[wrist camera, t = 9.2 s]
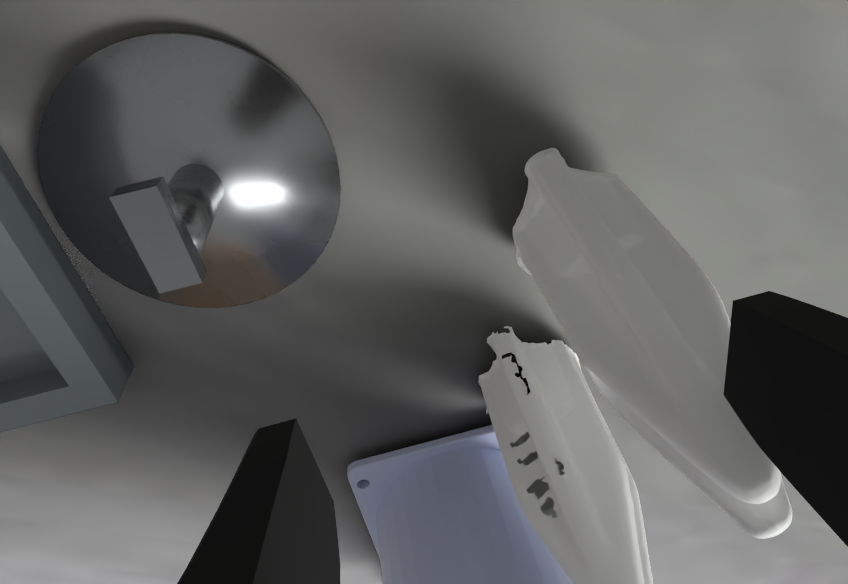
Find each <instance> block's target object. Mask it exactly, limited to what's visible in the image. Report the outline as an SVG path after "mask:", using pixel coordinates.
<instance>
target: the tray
mask: <svg viewBox="0 0 848 584" xmlns="http://www.w3.org/2000/svg"><path fill="white" fill-rule="evenodd" d="M133 367H134V366H133V364H132V363H131V361H130V359H129V358H128V356H127V355H126V353H125V351H124V350H123V348H122V346H121V345H120V343H119V341H118V340H117V338H116V336H115V335H114V333H113V331H112V330H111V328H110V326H109V325H108V323H107V321H106V320H105V318H104V316H103V315H102V313H101V311H100V310H99V308H98V306H97V305H96V303H95V301H94V300H93V298H92V297H91V295H90V293H89V292H88V290H87V288H86V287H85V285H84V283H83V282H82V280H81V278H80V277H79V275H78V273H77V272H76V270H75V268H74V267H73V265H72V263H71V262H70V260H69V258H68V257H67V255H66V253H65V252H64V250H63V248H62V247H61V245H60V243H59V242H58V240H57V239H56V237H55V235H54V234H53V232H52V230H51V229H50V227H49V225H48V224H47V222H46V220H45V219H44V217H43V215H42V214H41V212H40V210H39V209H38V207H37V205H36V204H35V202H34V200H33V199H32V197H31V195H30V194H29V192H28V190H27V189H26V187H25V186H24V184H23V182H22V181H21V179H20V177H19V176H18V174H17V172H16V171H15V169H14V167H13V166H12V164H11V162H10V161H9V159H8V157H7V156H6V154H5V152H4V151H3V149H2V147H1V146H0V432H3V431H7V430H11V429H15V428H19V427H23V426H27V425H31V424H34V423H38V422H42V421H46V420H50V419H54V418H58V417H62V416H66V415H70V414H74V413H77V412H81V411H85V410H89V409H93V408H97V407H101V406H105V405H109V404H113V403H117V402H118V401H119V399H120V396H121V394H122V392H123V390H124V387H125V385H126V383H127V381H128V378H129V376H130V374H131V372H132V369H133Z"/></svg>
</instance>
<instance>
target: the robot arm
mask: <svg viewBox="0 0 848 584" xmlns="http://www.w3.org/2000/svg"><path fill="white" fill-rule="evenodd" d="M723 395H724V396H725V398H726V399H727V401H728V402H729V404H730V405H731V407H732V408H733V410H734V411H735V413H736V414H737V416H738V417H739V419H740V420H741V422H742V424H743V425H744V426H745V428H746V429H747V431H748V432H749V433H750V435H751V436H752V438H753V439H754V440H755V442H756V443H757V445H758V446H759V447H760V449H761V450H762V451H763V452H764V453H765V454H766V455H767V457H768V458H769V459H770V460H771V461H772V462H773V464H774V465H775V466H776V467H777V468H778V469H779V470H780V471H781V473H782V474H783V475H784V476H785V477H786V478H787V479H788V481H789V482H790V483H791V484H792V485H793V486H794V487H795V488H796V490H797V491H798V492H799V493H800V494H801V495H802V496H803V497H804V498H805V500H806V501H807V502H808V503H809V504H810V505H811V506H812V507H813V508H814V510H815V511H816V512H817V513H818V514H819V515H820V516H821V517H822V518H823V520H824V521H825V522H826V523H827V524H828V525H829V526H830V527H831V529H832V530H833V531H834V532H835V533H836V534H837V535H838V536H839V537H840V539H841V540H842V541H843V542H844V543H845V544H846V545H847V546H848V318H846V317H843V316H841V315H838V314H835V313H833V312H830V311H827V310H824V309H821V308H819V307H816V306H813V305H810V304H807V303H805V302H802V301H799V300H796V299H793V298H790V297H787V296H784V295H780V294H777V293H774V292H770V291H768V292H764V293H761V294H757V295H753V296H749V297H746V298H742V299H738V300H735V301H733V306H732V316H731V326H730V335H729V345H728V355H727V365H726V374H725V384H724V394H723ZM347 476H348V480H349V483H350V485H351V488H352V490H353V493H354V495H355V498H356V500H357V503H358V505H359V508H360V510H361V513H362V515H363V518H364V521H365V523H366V526H367V528H368V531H369V533H370V536H371V538H372V541H373V543H374V546H375V548H376V551H377V553H378V556H379V558H380V562H381V572H382V581H383V584H574V583H573V582H572V581H571V579H570V578H569V577H568V575H567V574H566V573H565V571H564V570H563V569H562V567H561V566H560V564H559V563H558V562H557V560H556V559H555V558H554V556H553V555H552V553H551V552H550V551H549V549H548V548H547V546H546V545H545V544H544V542H543V541H542V539H541V538H540V536H539V535H538V534H537V532H536V531H535V529H534V528H533V526H532V525H531V523H530V522H529V521H528V519H527V518H526V516H525V515H524V513H523V511H522V509H521V507H520V505H519V502H518V500H517V497H516V495H515V492H514V489H513V486H512V483H511V480H510V477H509V474H508V471H507V468H506V465H505V462H504V459H503V456H502V453H501V450H500V447H499V444H498V441H497V438H496V435H495V432H494V429H493V425H490V426H486V427H482V428H479V429H475V430H471V431H467V432H463V433H460V434H456V435H452V436H448V437H444V438H441V439H437V440H433V441H429V442H425V443H422V444H418V445H414V446H410V447H406V448H403V449H399V450H395V451H391V452H387V453H384V454H380V455H376V456H372V457H369V458H365V459H361V460H357V461H355V462H352V463H351V464H350V465H349V466H348V468H347ZM360 480H365V481H360ZM177 584H340V558H339V548H338V537H337V528H336V519H335V510H334V501H333V499H332V497H331V495H330V493H329V490H328V488H327V486H326V484H325V482H324V479H323V477H322V475H321V473H320V470H319V468H318V466H317V464H316V462H315V459H314V457H313V455H312V453H311V451H310V448H309V446H308V444H307V442H306V439H305V437H304V435H303V433H302V431H301V428H300V426H299V424H298V422H297V419H293V420H289V421H285V422H282V423H278V424H274V425H270V426H267V427H263V428H259V429H258V430H257V432H256V433H255V435H254V437H253V439H252V441H251V443H250V445H249V447H248V449H247V451H246V453H245V455H244V457H243V459H242V461H241V463H240V465H239V467H238V469H237V471H236V473H235V475H234V478H233V480H232V482H231V484H230V486H229V488H228V490H227V492H226V494H225V496H224V498H223V500H222V502H221V504H220V506H219V508H218V510H217V512H216V513H215V515H214V517H213V519H212V521H211V523H210V525H209V527H208V529H207V530H206V532H205V534H204V536H203V538H202V540H201V542H200V544H199V546H198V547H197V549H196V551H195V553H194V555H193V557H192V559H191V561H190V562H189V564H188V566H187V568H186V570H185V571H184V573H183V575H182V577H181V578H180V580H179V582H178V583H177Z"/></svg>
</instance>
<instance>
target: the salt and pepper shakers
mask: <svg viewBox="0 0 848 584" xmlns="http://www.w3.org/2000/svg"><path fill="white" fill-rule="evenodd" d="M524 172H525V174H526V176H527V177H528V190H527V194H526V197H525V201H524V205H523V208H522V210H521V212H520V215H519V216H518V218H517V219H516V223H515V225H514V227H513V239H514V244H515V246H516V247H517V252H516V260H517V263H518V265H519V266H520V267H521V268H522V269H523V270H525V271H526V272H527V273H528V274H529V275H531V276H532V277H533V278H534V280H535V282H536V283H537V285H538V287H539V288H540V290H541V292H542V294H543V295H544V297H545V299H546V300H547V302H548V303H549V305H550V307H551V308H552V310H553V312H554V314H555V316H556V318H557V320H558V322H559V323H560V325H561V327H562V329H563V331H564V333H565V334H566V336H567V338H568V340H569V342H570V344H571V345H572V347H573V349H574V351H575V352H576V353H574V352H573V351H572V349H570V347H568V346H567V345H564V343H563V341H560V340H552V341H551V342H552V343H550V344H548V345H547V343H546V342H544V343H527V342H521V341H520V340H519V339H518V338H517V337H516V336H515V334H514V332H513V330H512V327H509V326H505V327H504V328H508V329H509V331H510V333H507V334H506V332H505V333H504V332H503V333H500V334H498V332H497V333H495V334H494V332H493V333H492V334H491V336H489V337H488V338H487V343H488V344H489V345H490V346H491V347H492V349H493V351H494V352H495V353H496V355H497V358H496V360H495V361H493V365H492V366H491V368H490V370H489V371H488V372H486V373H484V375H483V374H482V375H479V379H478V380H479V382H478V384H480V387H481V389H482V393H483V396H484V399H485V403H486V405H487V409H486V414H487V413H488V412H489V415H490V419H491V422H492V425H493V429H494V432H495V435H496V438H497V441H498V444H499V447H500V450H501V453H502V456H503V459H504V462H505V465H506V468H507V471H508V474H509V477H510V480H511V483H512V486H513V489H514V492H515V495H516V497H517V500H518V502H519V505H520V507H521V509H522V511H523V513H524V515H525V516H526V518H527V519H528V521H529V522H530V523H531V525H532V526H533V528H534V529H535V531H536V532H537V534H538V535H539V536H540V538H541V539H542V541H543V542H544V544H545V545H546V546H547V548H548V549H549V551H550V552H551V553H552V555H553V556H554V558H555V559H556V560H557V562H558V563H559V564H560V566H561V567H562V569H563V570H564V571H565V573H566V574H567V575H568V577H569V578H570V579H571V581H572V582H573V583H574V584H653V578H652V572H651V566H650V560H649V554H648V548H647V542H646V535H645V529H644V524H643V517H642V511H641V505H640V500H639V495H638V490H637V487H636V484H635V482H634V479H633V477H632V475H631V473H630V471H629V469H628V467H627V465H626V462H625V460H624V458H623V456H622V454H621V452H620V450H619V448H618V446H617V444H616V442H615V440H614V438H613V436H612V434H611V432H610V430H609V428H608V426H607V424H606V422H605V420H604V418H603V416H602V414H601V412H600V410H599V408H598V406H597V404H596V402H595V400H594V398H593V396H592V393H591V391H590V389H589V387H588V385H587V382H586V380H585V378H584V376H583V373H582V371H581V367H580V364H579V359H580V361H581V362H582V364H583V366H584V367H585V369H586V371H587V373H588V375H589V376H590V378H591V380H592V382H593V383H594V385H595V386H596V388H597V390H598V391H599V393H600V394H601V396H602V397H603V399H604V400H605V401H606V402H607V404H608V405H609V406H610V407H611V408H612V409H613V410H614V411H615V412H616V413H617V414H618V416H620V417H621V418H622V419H623V420H624V421H625V422H626V423H627V424H628V425H629V426H630V427H632V428H633V429H634V430H635V431H636V432H637V433H638V434H639V435H640V436H641V437H642V438H643V439H644V440H645V441H646V442H647V443H649V444H650V445H651V446H652V447H653V448H654V449H655V450H656V451H657V452H658V453H659V454H660V455H661V456H662V457H663V458H665V459H666V460H667V461H668V462H669V463H670V464H671V465H672V466H673V467H674V468H676V469H677V470H678V471H679V472H680V473H681V474H683V475H684V476H685V477H686V478H687V479H688V480H689V481H690V482H691V483H692V484H694V485H695V486H696V487H697V488H698V489H699V490H700V491H702V492H703V493H704V494H705V495H706V496H707V497H708V498H709V499H710V500H712V501H713V502H714V503H715V504H716V505H717V506H719V507H720V508H721V509H722V510H723V511H724V512H725V513H726V514H727V515H728V516H729V517H730V518H731V519H732V520H733V521H734V522H736V523H737V524H738V525H739V526H740V527H741V528H742V529H744V530H745V531H746V532H747V533H749V534H750V535H751V536H753V537H756V538H761V539H764V538H769V537H774V536H776V535H778V534H780V533H782V532H783V531H784V530H785V529H786V528H787V527H788V526H789V525H790V523H791V521H792V508H791V505H790V502H789V499H788V496H787V493H786V490H785V487H784V484H783V481H782V477H781V473H780V470H779V469H778V468H777V467H776V466H775V465H774V464H773V462H772V461H771V460H770V459H769V458H768V457H767V455H766V454H765V453H764V452H763V451H762V450H761V449H760V447H759V446H758V445H757V443H756V442H755V440H754V439H753V438H752V436H751V435H750V433H749V432H748V431H747V429H746V428H745V426H744V425H743V424H742V422H741V420H740V419H739V417H738V416H737V414H736V413H735V411H734V410H733V408H732V407H731V405H730V404H729V402H728V401H727V399H726V398H725V396H724V395H723V394H724V384H725V374H726V365H727V355H728V345H729V335H730V326H731V323H730V320H729V318H728V315H727V312H726V310H725V307H724V304H723V302H722V300H721V298H720V296H719V294H718V292H717V290H716V288H715V287H714V285H713V284H712V283H711V281H710V280H709V278H708V277H707V275H706V274H705V273H704V271H703V270H702V269H701V268H700V266H699V265H698V264H697V262H696V261H695V260H694V259H693V258H692V257H691V256H690V255H689V253H688V252H687V251H686V250H685V249H684V248H683V247H682V246H681V245H680V243H679V242H678V241H677V240H676V239H675V238H674V237H673V235H672V234H671V232H670V231H669V230H667V229H666V228H665V227H664V226H663V225H662V224H661V222H660V221H659V220H658V219H657V218H656V217H655V216H654V215H653V213H651V211H650V210H649V209H648V208H647V207H646V206H645V205H644V204H643V203H642V202H641V201H640V199H639V198H638V197H637V196H636V195H635V194H634V193H633V192H632V191H631V190H630V189H629V188H628V187H627V186H626V184H625V183H624V182H623V181H622V180H621V179H620V178H619V177H618V176H617V175H615V174H609V173H599V172H591V171H584V170H579V169H574V168H570V167H568V166H567V164H566V162H565V160H564V158H563V157H561V155H560V153H559V151H558V150H557V149H556V148H549V149H546V150H543V151H540V152H538V153H536V154H535V155H533V156H532V157H531V158H530V159H529V160H528V162H527V163H526V165H525V169H524ZM510 352H512V354H515V356H516V359H517V363H518V366H522V368H523V370H522V372H521V373H522V377H523V378H526V379H527V382H528V386H529V388H530V393H529V394H528V395H526V394H527V387H526V385H525V383H524V382H523V380H522V379H520V377H518V378H517V377H516V376H515V373H516V372H517V373H519V371H518V367H517V364H516V363H512V361H511V359H512V355H511V356H510V357H506V358H504V359H502V355H504V354H507V353H510ZM577 356H578V357H577ZM578 358H579V359H578Z"/></svg>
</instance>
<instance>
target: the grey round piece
mask: <svg viewBox="0 0 848 584" xmlns="http://www.w3.org/2000/svg"><path fill="white" fill-rule="evenodd" d="M38 166H39V172H40V177H41V182H42V187H43V190H44V193H45V195H46V198H47V201H48V204H49V206H50V208H51V210H52V212H53V214H54V216H55V218H56V220H57V222H58V223H59V225H60V226H61V228H62V229H63V231H64V232H65V234H66V235H67V237H68V238H69V239H70V240H71V242H72V243H73V244H74V245H75V246H76V247H77V248H78V250H79V251H80V252H81V253H82V254H83V255H84V256H85V257H86V258H87V259H88V260H90V261H91V262H92V263H93V264H94V265H95V266H96V267H98V268H99V269H100V270H102V271H103V272H104V273H106V274H107V275H108V276H110V277H111V278H113V279H114V280H116V281H118V282H119V283H121V284H123V285H124V286H126V287H128V288H130V289H132V290H135V291H137V292H139V293H141V294H143V295H146V296H149V297H151V298H154V299H157V300H160V301H164V302H168V303H172V304H176V305H182V306H189V307H198V308H220V307H232V306H237V305H242V304H247V303H251V302H254V301H257V300H260V299H263V298H266V297H268V296H270V295H272V294H274V293H277V292H279V291H280V290H282V289H284V288H285V287H287V286H289V285H290V284H292V283H293V282H294V281H295V280H297V279H298V278H299V277H300V276H302V275H303V274H304V273H305V272H306V271H307V270H308V269H309V268H310V267H311V266H312V265H313V264H314V263H315V261H316V260H317V258H318V257H319V256H320V254H321V253H322V252H323V250H324V248H325V246H326V244H327V243H328V241H329V239H330V237H331V234H332V232H333V229H334V226H335V223H336V220H337V215H338V210H339V204H340V177H339V167H338V162H337V157H336V153H335V149H334V146H333V143H332V141H331V138H330V135H329V132H328V131H327V129H326V127H325V125H324V123H323V121H322V119H321V117H320V115H319V114H318V112H317V111H316V109H315V108H314V106H313V105H312V103H311V102H310V100H309V99H308V98H307V97H306V96H305V95H304V93H303V92H302V91H301V90H300V89H299V88H298V87H297V85H296V84H295V83H293V82H292V81H291V80H290V79H289V78H288V77H287V76H286V75H285V74H283V73H282V72H281V71H280V70H279V69H277V68H276V67H274V66H273V65H271V64H270V63H269V62H267V61H266V60H264V59H263V58H261V57H259V56H257V55H255V54H254V53H252V52H250V51H248V50H246V49H244V48H242V47H239V46H237V45H234V44H232V43H229V42H227V41H224V40H221V39H217V38H213V37H209V36H205V35H200V34H191V33H183V32H158V33H152V34H145V35H139V36H135V37H132V38H129V39H125V40H122V41H119V42H116V43H114V44H112V45H110V46H108V47H106V48H104V49H102V50H100V51H98V52H96V53H94V54H92V55H91V56H89V57H88V58H87V59H85V60H84V61H82V62H81V63H80V64H78V65H77V66H76V67H75V68H74V69H73V70H72V71H71V72H70V73H69V74H68V75H67V76H66V77H65V78H64V79H63V81H62V82H61V84H60V85H59V86H58V88H57V89H56V91H55V92H54V94H53V95H52V97H51V99H50V101H49V104H48V106H47V108H46V110H45V112H44V116H43V120H42V123H41V127H40V131H39V140H38Z"/></svg>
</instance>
